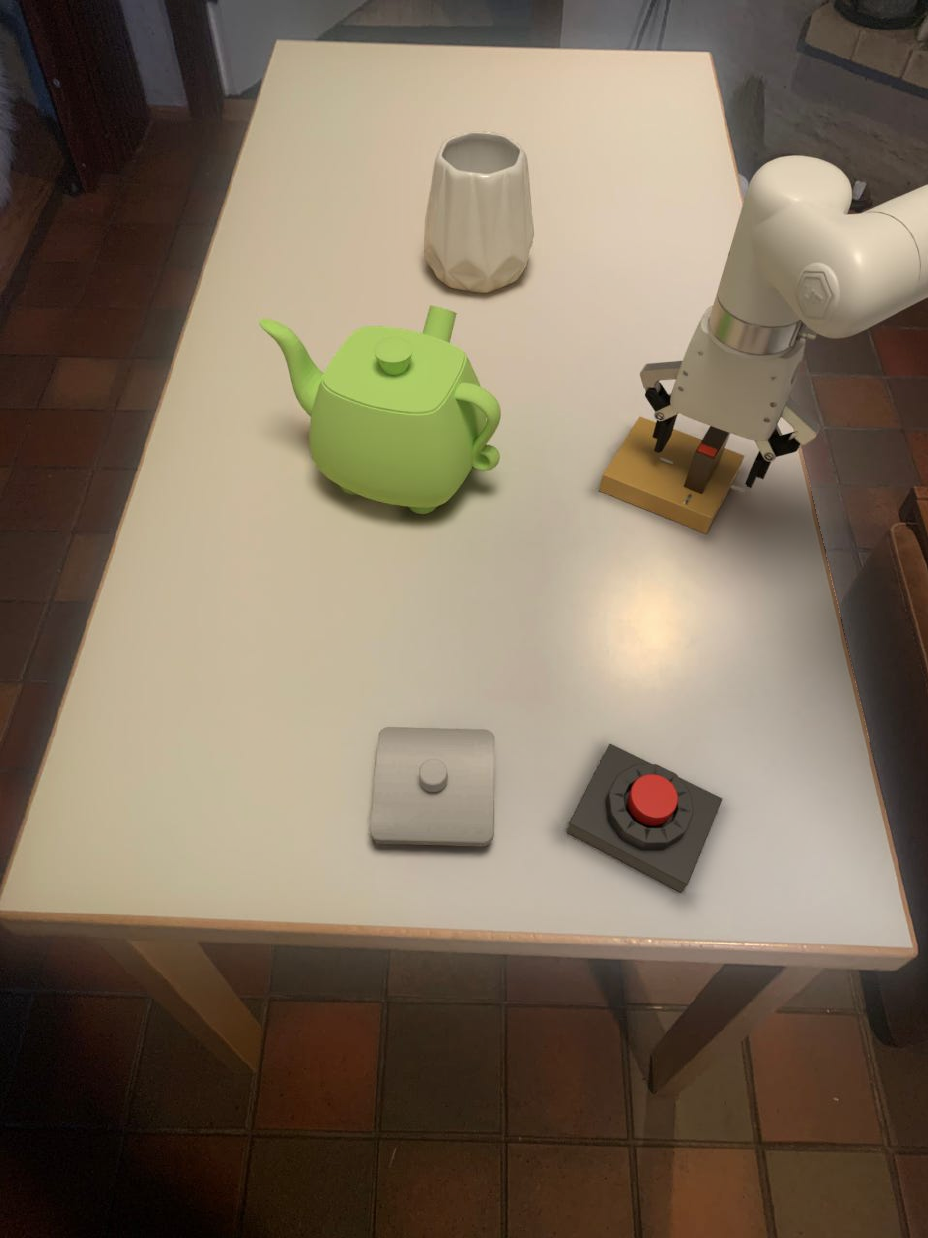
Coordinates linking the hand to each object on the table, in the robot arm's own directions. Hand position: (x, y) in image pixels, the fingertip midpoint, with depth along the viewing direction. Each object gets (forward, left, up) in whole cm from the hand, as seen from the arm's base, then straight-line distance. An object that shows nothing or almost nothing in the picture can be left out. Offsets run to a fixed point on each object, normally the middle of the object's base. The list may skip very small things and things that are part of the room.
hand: (706, 460), depth 85 cm
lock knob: (0, 0, -2) cm, 2 cm away
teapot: (+31, +10, -5) cm, 33 cm away
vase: (+39, -23, -5) cm, 46 cm away
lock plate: (+3, 0, -5) cm, 5 cm away
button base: (-9, +36, -5) cm, 38 cm away
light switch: (+7, +43, -5) cm, 44 cm away
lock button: (-9, +36, -1) cm, 38 cm away
